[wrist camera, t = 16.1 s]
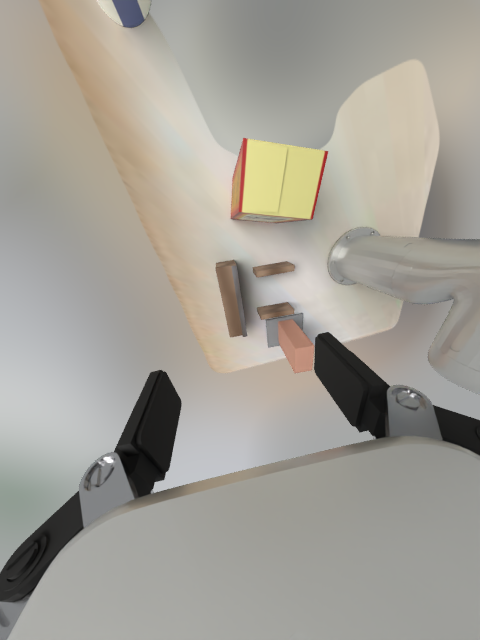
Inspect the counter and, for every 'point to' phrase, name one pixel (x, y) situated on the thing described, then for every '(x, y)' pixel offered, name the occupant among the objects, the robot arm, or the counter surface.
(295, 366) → the salmon pink block
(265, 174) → the baking soda box
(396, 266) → the robot arm
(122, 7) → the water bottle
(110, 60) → the counter surface
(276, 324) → the grey mat
